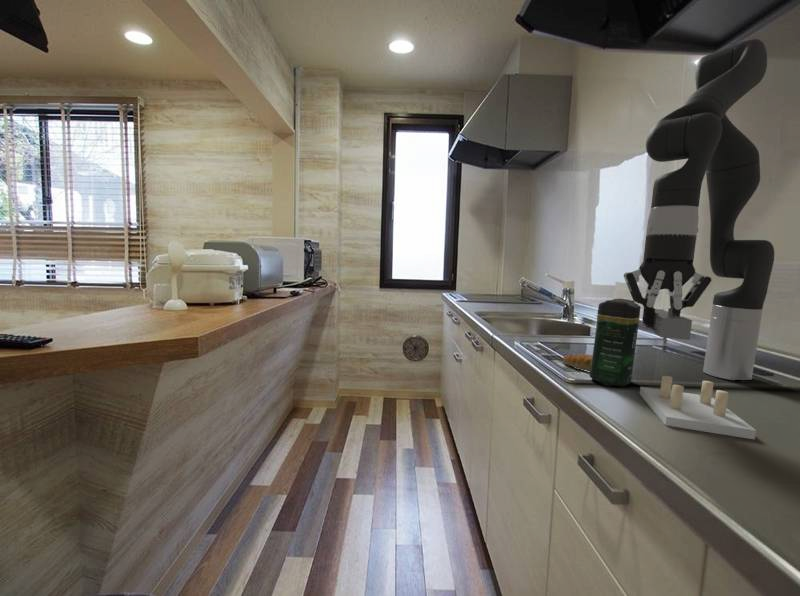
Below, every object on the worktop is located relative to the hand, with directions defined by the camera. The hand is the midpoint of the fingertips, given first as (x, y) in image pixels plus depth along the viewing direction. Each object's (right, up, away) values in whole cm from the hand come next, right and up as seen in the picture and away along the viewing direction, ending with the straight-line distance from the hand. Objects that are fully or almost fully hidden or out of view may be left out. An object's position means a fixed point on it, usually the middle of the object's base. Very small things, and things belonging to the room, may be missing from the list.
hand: (659, 327), depth 72 cm
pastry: (-2, -12, +25) cm, 28 cm away
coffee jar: (-1, -13, +15) cm, 20 cm away
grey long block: (-1, 0, -2) cm, 2 cm away
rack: (+4, -15, -2) cm, 16 cm away
